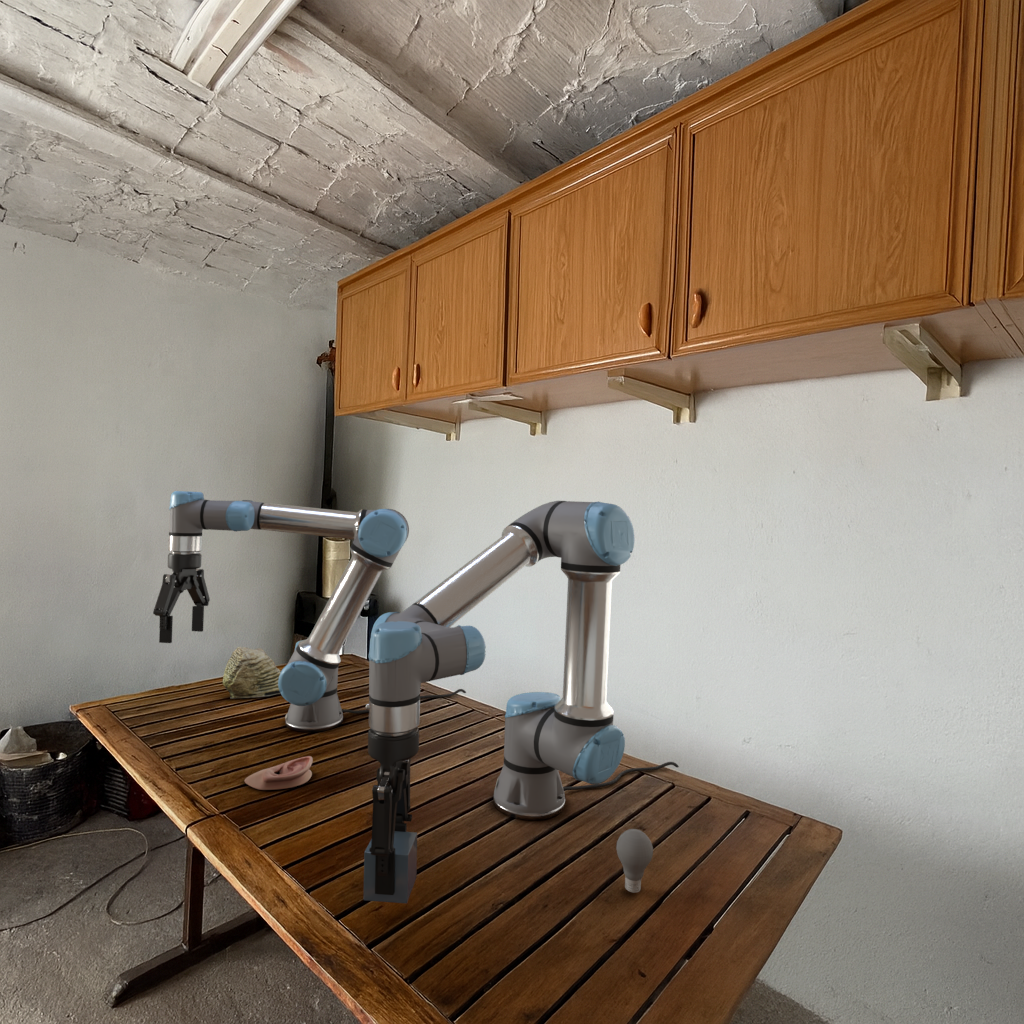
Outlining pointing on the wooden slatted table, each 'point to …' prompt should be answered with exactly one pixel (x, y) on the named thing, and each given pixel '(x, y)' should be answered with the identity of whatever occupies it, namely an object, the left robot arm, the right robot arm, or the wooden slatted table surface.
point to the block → (403, 869)
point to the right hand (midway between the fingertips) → (390, 878)
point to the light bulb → (634, 857)
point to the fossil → (251, 674)
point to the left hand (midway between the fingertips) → (182, 636)
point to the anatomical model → (282, 775)
